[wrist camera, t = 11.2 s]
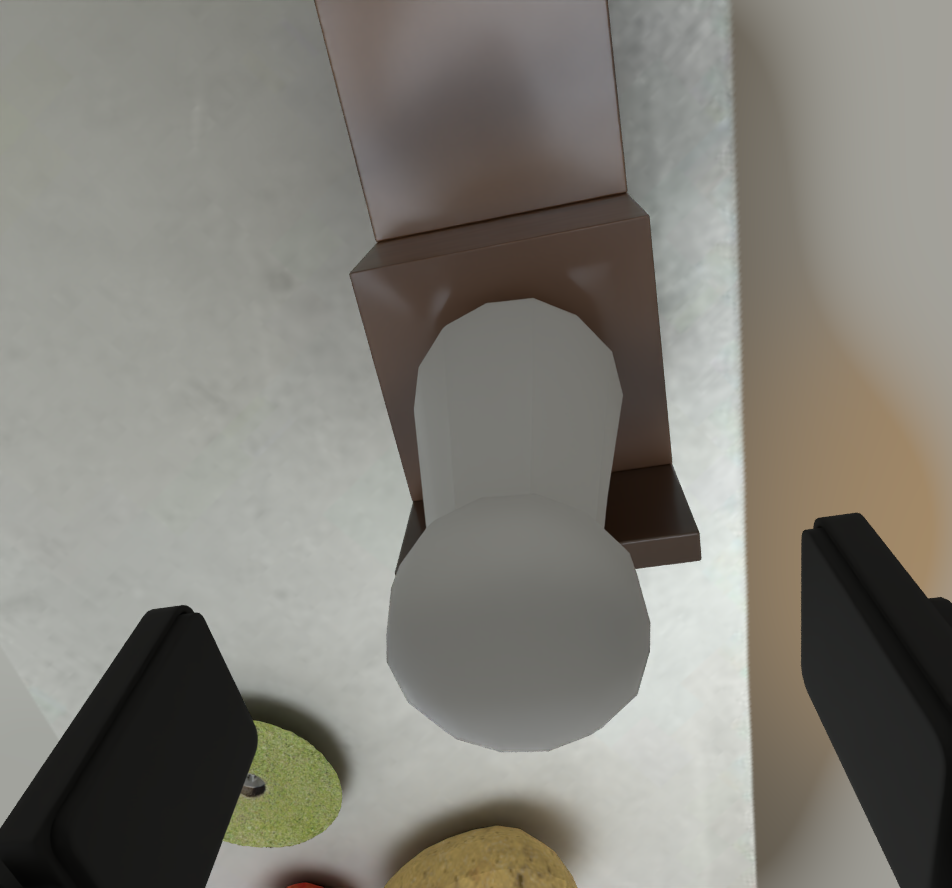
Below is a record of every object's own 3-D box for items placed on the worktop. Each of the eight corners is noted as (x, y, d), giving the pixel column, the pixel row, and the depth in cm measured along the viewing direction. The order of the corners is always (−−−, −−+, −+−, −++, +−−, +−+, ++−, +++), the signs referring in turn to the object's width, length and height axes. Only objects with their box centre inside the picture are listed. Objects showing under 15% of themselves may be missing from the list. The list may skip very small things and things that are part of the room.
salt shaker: (397, 311, 22) (258, 572, 10) (583, 251, 21) (664, 467, 9) (461, 473, 24) (407, 836, 12) (630, 428, 23) (743, 777, 11)
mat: (130, 718, 43) (113, 745, 41) (293, 672, 41) (283, 698, 39) (227, 835, 48) (215, 863, 46) (379, 799, 45) (373, 828, 43)
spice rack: (341, -4, 26) (195, -76, 14) (585, -66, 25) (642, -198, 13) (443, 419, 33) (402, 599, 22) (636, 388, 32) (702, 561, 20)
